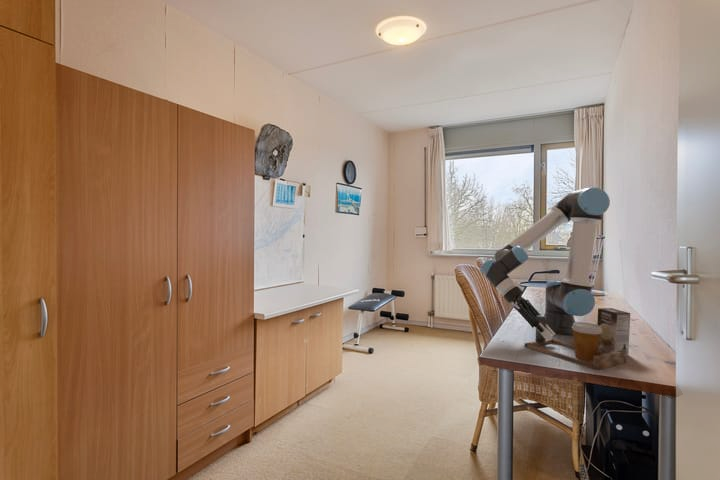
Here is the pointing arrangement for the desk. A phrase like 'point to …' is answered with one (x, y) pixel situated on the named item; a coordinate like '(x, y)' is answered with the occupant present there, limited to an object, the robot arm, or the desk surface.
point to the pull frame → (598, 361)
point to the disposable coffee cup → (586, 340)
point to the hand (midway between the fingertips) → (550, 337)
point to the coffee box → (613, 330)
